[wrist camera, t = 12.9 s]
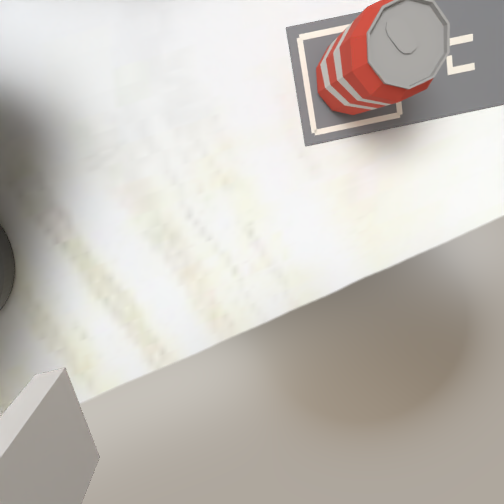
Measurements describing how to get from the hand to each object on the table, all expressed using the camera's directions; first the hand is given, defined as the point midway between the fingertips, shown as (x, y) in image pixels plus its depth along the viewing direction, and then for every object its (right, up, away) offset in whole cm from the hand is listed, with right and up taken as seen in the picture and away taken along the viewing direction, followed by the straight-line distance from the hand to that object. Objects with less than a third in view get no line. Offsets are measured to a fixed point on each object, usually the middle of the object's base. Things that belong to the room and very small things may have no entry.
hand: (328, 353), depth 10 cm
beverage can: (+7, +18, +25) cm, 32 cm away
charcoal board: (+12, +19, +25) cm, 34 cm away
